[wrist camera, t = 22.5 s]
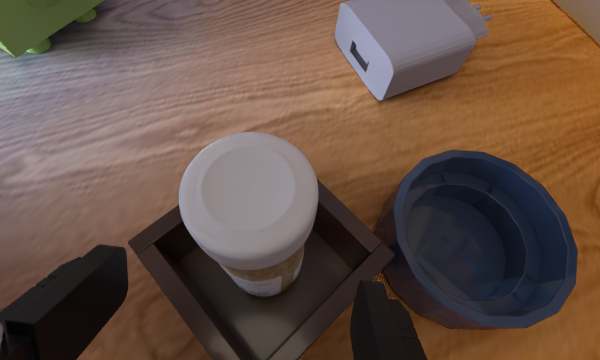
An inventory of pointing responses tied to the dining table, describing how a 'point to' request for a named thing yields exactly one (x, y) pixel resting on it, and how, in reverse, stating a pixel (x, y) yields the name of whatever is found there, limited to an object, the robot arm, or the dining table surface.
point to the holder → (257, 315)
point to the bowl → (477, 243)
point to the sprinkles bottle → (252, 210)
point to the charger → (407, 40)
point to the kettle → (38, 22)
